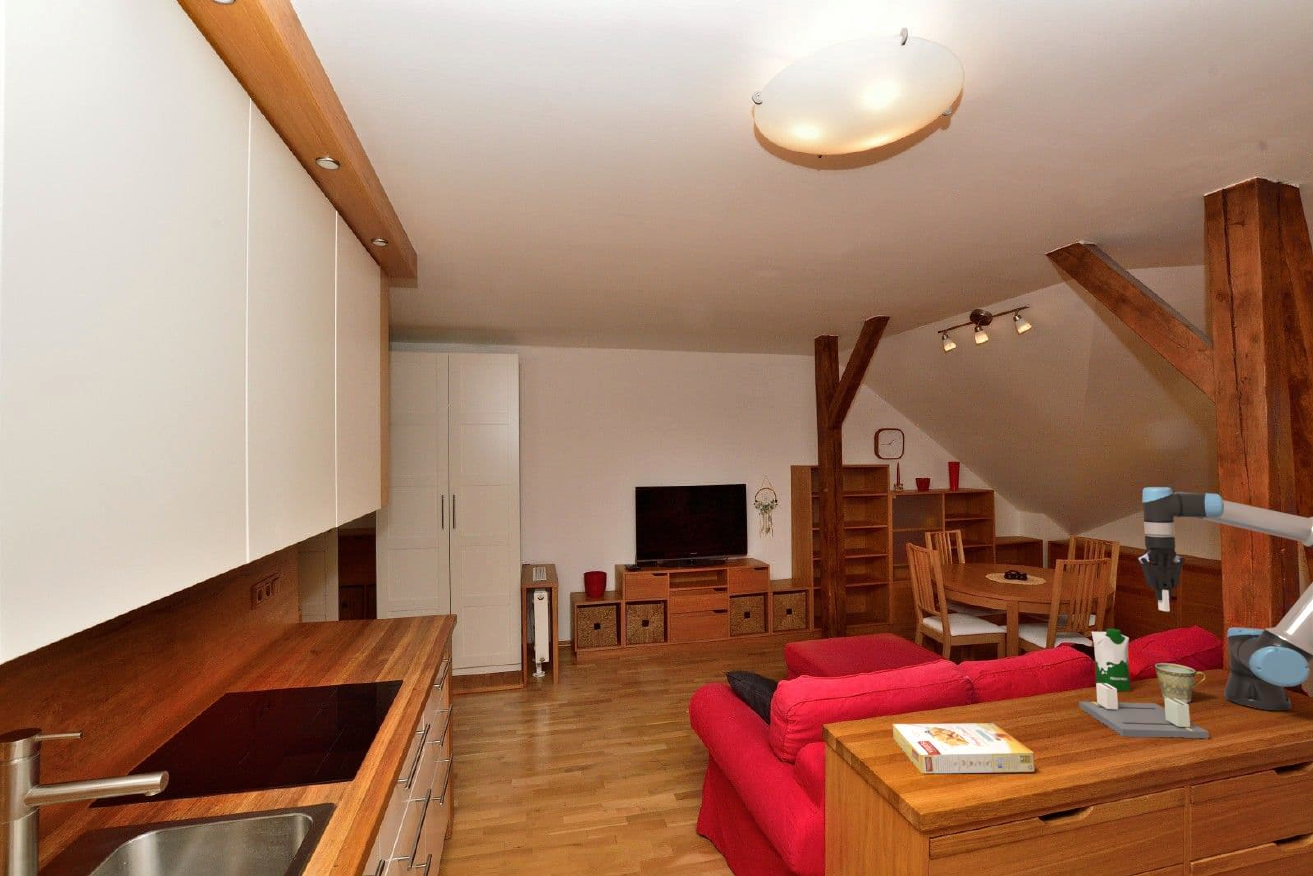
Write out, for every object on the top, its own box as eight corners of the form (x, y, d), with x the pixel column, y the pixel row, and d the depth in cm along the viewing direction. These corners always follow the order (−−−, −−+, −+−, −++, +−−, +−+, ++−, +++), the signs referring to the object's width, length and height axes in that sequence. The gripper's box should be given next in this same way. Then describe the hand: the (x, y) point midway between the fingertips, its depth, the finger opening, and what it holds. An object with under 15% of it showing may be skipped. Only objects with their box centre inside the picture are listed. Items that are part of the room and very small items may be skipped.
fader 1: (1107, 703, 189) (1106, 682, 190) (1118, 709, 184) (1116, 688, 185) (1097, 703, 190) (1096, 682, 190) (1107, 709, 185) (1106, 688, 185)
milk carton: (1107, 692, 205) (1103, 631, 206) (1090, 683, 214) (1087, 625, 215) (1135, 693, 204) (1131, 631, 205) (1117, 683, 213) (1114, 625, 214)
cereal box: (1035, 751, 151) (920, 752, 152) (1037, 775, 151) (922, 776, 151) (991, 720, 172) (890, 721, 172) (993, 741, 171) (891, 742, 171)
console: (1155, 710, 189) (1155, 703, 190) (1209, 739, 169) (1208, 731, 169) (1079, 708, 192) (1079, 701, 192) (1122, 736, 171) (1122, 729, 171)
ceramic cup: (1165, 703, 194) (1163, 671, 195) (1150, 692, 204) (1149, 662, 205) (1216, 707, 191) (1213, 674, 191) (1198, 696, 200) (1196, 665, 201)
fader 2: (1177, 719, 176) (1175, 697, 176) (1190, 727, 171) (1188, 704, 171) (1165, 719, 176) (1164, 697, 177) (1178, 726, 171) (1177, 704, 172)
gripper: (1173, 534, 199) (1177, 608, 198) (1129, 534, 201) (1134, 607, 199) (1190, 536, 192) (1195, 613, 190) (1145, 536, 193) (1150, 612, 192)
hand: (1164, 610), depth 195 cm, fingers closed
